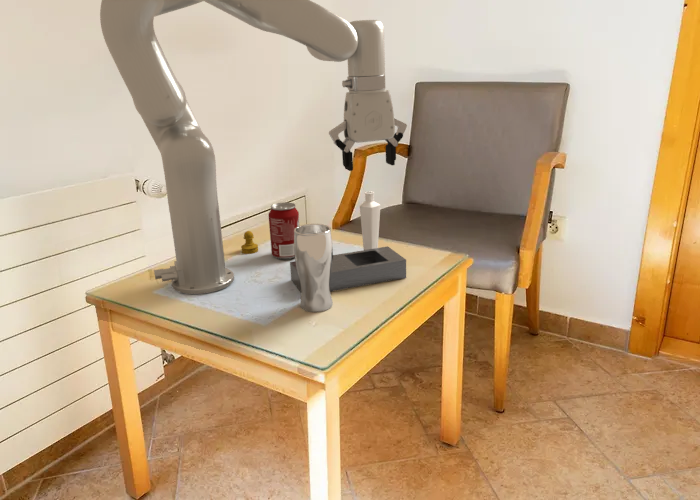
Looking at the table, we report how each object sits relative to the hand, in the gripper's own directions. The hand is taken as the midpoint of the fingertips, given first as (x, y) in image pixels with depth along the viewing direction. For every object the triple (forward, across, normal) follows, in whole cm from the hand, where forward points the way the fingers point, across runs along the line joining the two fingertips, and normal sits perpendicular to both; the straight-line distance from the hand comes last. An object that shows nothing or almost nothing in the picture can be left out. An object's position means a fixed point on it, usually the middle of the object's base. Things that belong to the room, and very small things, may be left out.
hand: (369, 166), depth 128 cm
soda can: (+20, -18, +9) cm, 29 cm away
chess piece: (+20, -25, +16) cm, 36 cm away
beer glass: (+20, -20, -19) cm, 34 cm away
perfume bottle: (+21, -1, 0) cm, 21 cm away
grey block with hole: (+20, -10, -10) cm, 25 cm away
